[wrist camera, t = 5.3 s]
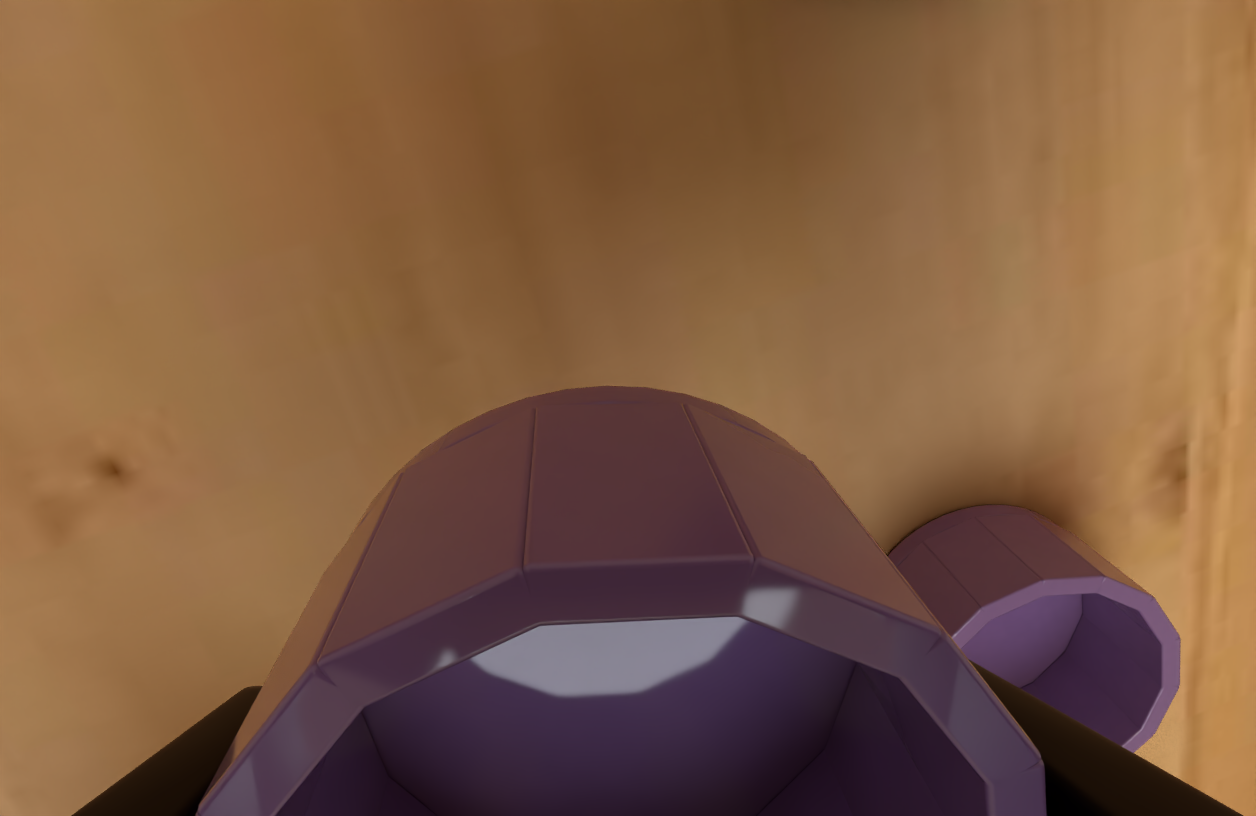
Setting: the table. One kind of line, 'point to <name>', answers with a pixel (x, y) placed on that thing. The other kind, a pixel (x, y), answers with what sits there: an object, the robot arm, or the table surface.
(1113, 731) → the dish
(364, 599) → the dish
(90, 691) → the table surface
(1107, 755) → the robot arm
